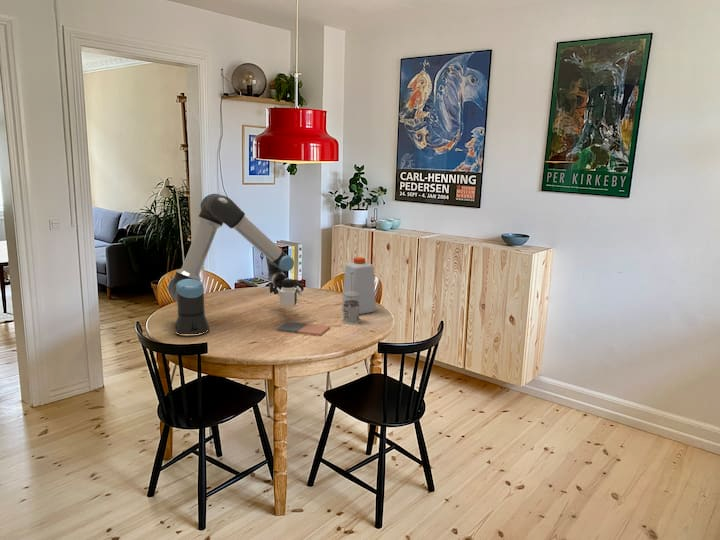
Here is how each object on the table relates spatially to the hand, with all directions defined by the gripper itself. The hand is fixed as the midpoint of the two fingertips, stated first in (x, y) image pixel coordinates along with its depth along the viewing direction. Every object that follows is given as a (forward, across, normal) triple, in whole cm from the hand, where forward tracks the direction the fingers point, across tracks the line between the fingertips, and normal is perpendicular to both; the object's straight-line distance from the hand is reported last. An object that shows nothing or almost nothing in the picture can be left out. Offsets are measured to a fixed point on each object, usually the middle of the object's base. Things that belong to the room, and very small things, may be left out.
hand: (290, 293), depth 251 cm
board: (+3, -5, -17) cm, 18 cm away
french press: (-4, -31, -18) cm, 36 cm away
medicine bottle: (-5, 0, -7) cm, 8 cm away
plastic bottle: (-19, -41, -18) cm, 48 cm away
